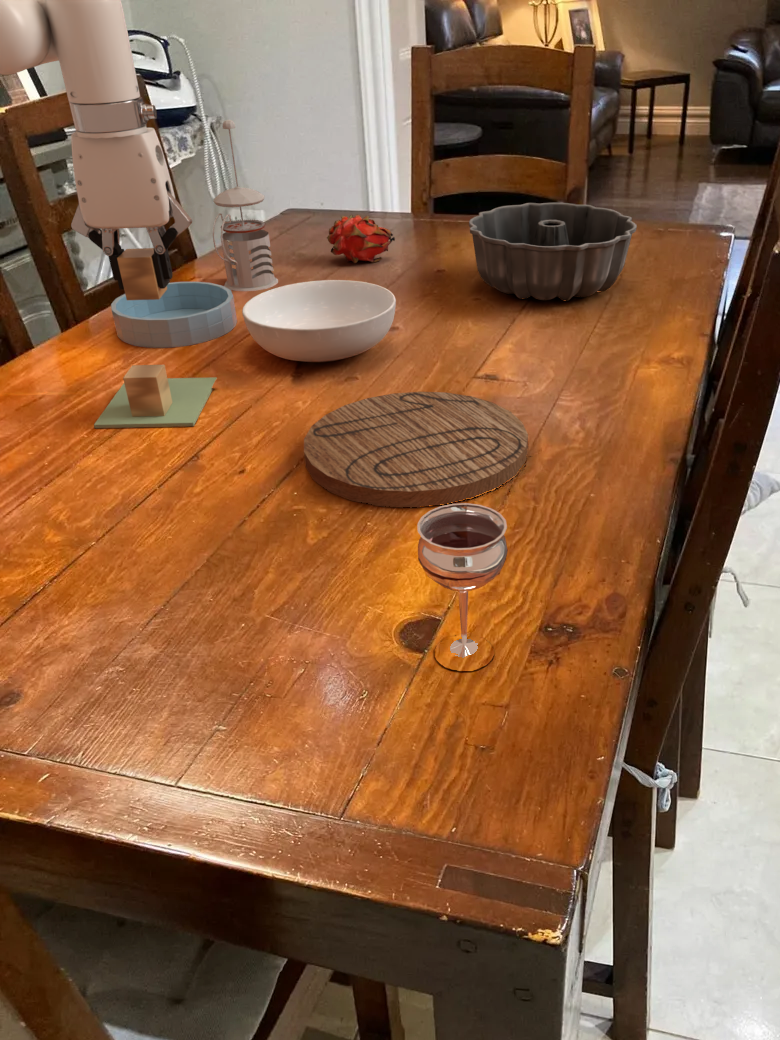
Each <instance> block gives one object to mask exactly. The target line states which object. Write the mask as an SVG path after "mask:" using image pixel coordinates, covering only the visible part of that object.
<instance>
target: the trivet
mask: <svg viewBox="0 0 780 1040" xmlns="http://www.w3.org/2000/svg"><path fill="white" fill-rule="evenodd" d="M527 449H528V450H529V433H528V431H527V429H526V426H525V425H524V422H523V421H522V420H521V419H520V418H519V417H518V416H517V415H515V414H514V413H513V412H512V411H511V410H509V409H507V408H505V407H502V406H501V405H498V404H497V403H494V402H492V401H489V400H485V399H482V398H479V397H475V396H472V395H465V394H459V393H452V392H445V391H444V392H443V391H442V392H441V391H440V392H439V391H409V392H395V393H389V394H383V395H378V396H372V397H367V398H364V399H361V400H358V401H357V400H356V401H353V402H350V403H348V404H345V405H342V406H340V407H339V408H336V409H334V410H332V411H330V412H328V413H326V414H324V415H323V416H322V417H321V418H319V420H317V421H316V422H315V423H313V424H312V425H311V426H310V428H309V430H308V431H307V433H306V435H305V436H304V437H303V456H304V464H305V468H306V470H307V472H308V474H309V475H310V477H311V479H312V480H313V481H314V482H315V483H317V484H318V485H319V486H321V487H322V488H323V487H324V488H323V489H325V490H326V489H327V490H326V491H327V492H329V493H331V494H334V495H336V496H339V497H341V498H344V499H346V498H347V500H349V501H352V502H357V503H361V502H362V503H361V504H366V503H368V504H367V505H371V504H372V506H376V507H383V508H385V506H386V508H403V507H410V508H409V509H413V508H412V507H417V508H421V507H420V506H429V505H440V504H447V503H451V502H455V501H459V500H463V499H466V498H471V497H475V496H476V495H479V494H482V493H484V492H486V491H489V490H492V489H494V488H497V487H499V486H500V485H502V484H503V483H505V482H506V481H507V480H509V479H510V478H512V477H513V476H515V475H516V474H517V472H518V471H519V469H520V468H521V467H522V465H523V464H524V463H525V461H526V462H527V457H526V455H527V456H528V451H527ZM525 464H526V463H525ZM522 468H523V467H522ZM519 472H520V471H519ZM517 475H518V474H517ZM517 475H516V476H517ZM447 505H448V504H447ZM389 506H390V507H389ZM429 507H430V506H429Z"/></svg>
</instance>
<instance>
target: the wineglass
mask: <svg viewBox="0 0 780 1040" xmlns="http://www.w3.org/2000/svg"><path fill="white" fill-rule="evenodd" d="M416 527H417V528H416V529H417V533H418V535H420V537H419V539H418V543H417V560H418V562H419V565H420V566H421V569H422V570H423V572H424V573H425V575H426V576H427V577H428V578H429V579H430V580H431V581H433V582H435V583H437V584H438V585H439V586H441V587H442V588H444V589H447V590H449V591H454V592H457V593H458V607H459V620H460V622H459V623H460V634H461V637H462V639H459V640H456V641H454V642H453V643H452V644H451V646H450V651H451V653H456V654H458V655H455V656H458V657H462V658H464V657H466V656H468V655H472V654H474V653H475V652H476V651H477V649H478V646H477V645H478V643H475V641H473V640H471V639H467V634H468V616H469V615H468V614H469V613H468V611H469V610H468V609H469V607H468V606H469V592H471V591H475V590H479V589H481V588H483V587H485V586H486V585H487V584H489V583H490V582H492V581H493V580H494V579H496V578H497V577H498V575H499V574H500V573H501V571H502V569H503V567H504V565H505V562H506V560H507V555H508V545H507V544H508V543H507V539H506V536H505V533H506V531H507V529H508V525H507V520H506V518H505V517H504V516H503V515H502V513H500V512H499V511H497V510H495V509H493V508H491V507H488V506H485V505H483V504H476V503H470V502H469V503H468V502H466V503H465V502H459V503H452V504H447V505H442V506H437V507H435V508H433V509H431V510H429V511H427V512H426V513H425V514H423V515H422V516H421V517H420V518H419V520H418V522H417V526H416Z"/></svg>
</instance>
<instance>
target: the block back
mask: <svg viewBox="0 0 780 1040" xmlns="http://www.w3.org/2000/svg"><path fill="white" fill-rule="evenodd" d="M153 248H154V247H144V248H143V247H142V248H140V247H139V248H126V249H124V252H123V253H122V254H121V255H120V256H119V257H118V258H117V260H118V264H119V269H120V273H121V277H122V282H123V286H124V290H123V291H124V294H125V295H126V299H127V300H156V299H160V298H161V297H162V295H163V294H164V293H165V291H166V290H167V286H166V287H165V288H164V289H160V287H158V283H157V279H156V274H155V269H154V264H153V260H152V255H153V254H154V249H153Z"/></svg>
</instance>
